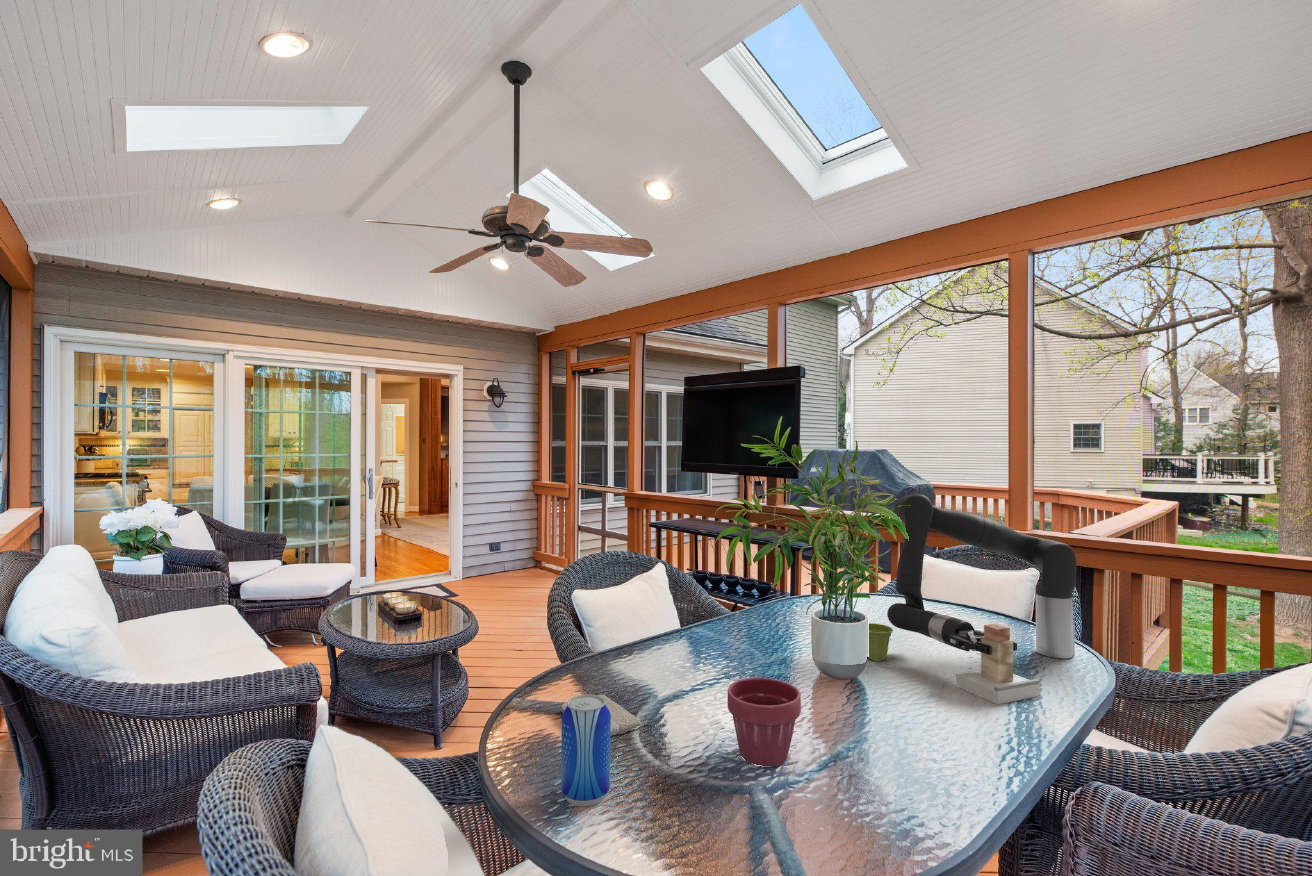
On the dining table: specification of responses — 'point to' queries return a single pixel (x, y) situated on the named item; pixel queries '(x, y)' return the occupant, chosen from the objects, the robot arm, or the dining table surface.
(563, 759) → the beer can
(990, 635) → the beige tall block
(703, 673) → the dining table surface
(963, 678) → the dock
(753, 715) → the plant pot
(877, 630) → the plant pot
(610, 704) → the washcloth
